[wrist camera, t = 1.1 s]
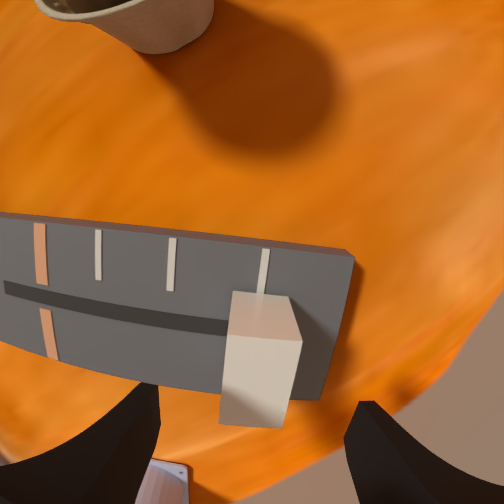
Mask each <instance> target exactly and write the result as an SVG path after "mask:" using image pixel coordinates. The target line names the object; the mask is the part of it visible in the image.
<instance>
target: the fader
mask: <svg viewBox="0 0 504 504" xmlns="http://www.w3.org/2000/svg"><path fill="white" fill-rule="evenodd" d="M302 343H303V341H302V337H301V334H300V331H299V328H298V325H297V322H296V319H295V316H294V313H293V310H292V307H291V304H290V301H289V298H288V296H278V295H268V294H259V293H250V292H241V291H233V293H232V301H231V309H230V316H229V324H228V332H227V341H226V351H225V361H224V371H223V381H222V392H221V402H220V413H219V424H224V425H235V426H246V427H260V428H281V429H282V426H283V422H284V418H285V414H286V410H287V406H288V402H289V398H290V394H291V390H292V386H293V382H294V378H295V374H296V369H297V365H298V361H299V356H300V352H301V347H302Z"/></svg>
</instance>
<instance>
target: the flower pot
mask: <svg viewBox="0 0 504 504" xmlns="http://www.w3.org/2000/svg"><path fill="white" fill-rule="evenodd" d="M34 1H35V3H36V5H37V7H38V8H39V10H40V11H41V12H43V13H44V14H46V15H47V16H49V17H51V18H54V19H57V20H60V21H67V22H81V23H86V24H92V25H94V26H96V27H97V28H99V29H101V30H103V31H104V32H106V33H108V34H110V35H111V36H113V37H115V38H116V39H118V40H120V41H121V42H123V43H125V44H126V45H128V46H129V47H131V48H132V49H134V50H136V51H138V52H141V53H146V54H163V53H169V52H173V51H176V50H178V49H179V48H181V47H182V46H184V45H186V44H188V43H189V42H191V41H193V40H195V39H196V38H198V37H199V36H200V35H201V34H202V33H203V32H204V31H205V30H206V28H207V27H208V25H209V24H210V22H211V20H212V17H213V12H214V0H34Z"/></svg>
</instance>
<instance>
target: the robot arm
mask: <svg viewBox="0 0 504 504" xmlns="http://www.w3.org/2000/svg"><path fill="white" fill-rule="evenodd" d="M160 426H161V420H160V407H159V392H158V385H154V384H149V383H144V382H141V383H140V384H138V385H137V386H136V387H135V388H134V389H133V390H132V391H131V392H130V393H129V394H128V395H127V396H126V397H125V398H124V399H123V400H122V401H120V402H119V403H118V404H117V405H116V406H115V407H114V408H113V409H111V410H110V411H109V412H108V413H107V414H106V415H104V416H103V417H102V418H101V419H99V420H98V421H97V422H95V423H94V424H93V425H91V426H90V427H89V428H87V429H86V430H84V431H83V432H81V433H80V434H78V435H77V436H75V437H74V438H72V439H70V440H69V441H67V442H65V443H63V444H61V445H59V446H57V447H55V448H53V449H51V450H49V451H47V452H45V453H43V454H40V455H38V456H35V457H32V458H29V459H26V460H23V461H20V462H17V463H13V464H9V465H4V466H0V504H189V491H188V467H187V466H185V465H182V464H176V463H171V462H165V461H160V460H155V459H151V458H152V455H153V452H154V449H155V447H156V443H157V439H158V434H159V430H160ZM344 444H345V451H346V457H347V462H348V465H349V469H350V472H351V476H352V479H353V482H354V485H355V489H356V492H357V496H358V499H359V502H360V504H504V486H500V485H496V484H493V483H490V482H487V481H484V480H481V479H479V478H476V477H474V476H472V475H469V474H467V473H465V472H463V471H461V470H459V469H457V468H455V467H454V466H452V465H450V464H449V463H447V462H446V461H444V460H442V459H441V458H439V457H438V456H436V455H435V454H433V453H432V452H430V451H429V450H428V449H427V448H426V447H424V446H423V445H422V444H421V443H419V442H418V441H417V440H416V439H415V438H413V437H412V436H411V435H410V434H409V433H408V432H406V430H404V429H403V428H402V427H401V426H400V425H399V424H398V423H397V422H396V421H395V420H394V419H393V418H392V417H391V416H390V415H389V414H388V413H387V412H386V411H385V410H384V409H382V408H381V407H380V406H379V405H378V404H377V403H376V402H375V401H359V403H358V405H357V408H356V410H355V413H354V415H353V417H352V420H351V422H350V424H349V427H348V429H347V431H346V433H345V436H344Z"/></svg>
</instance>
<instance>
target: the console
mask: <svg viewBox="0 0 504 504" xmlns="http://www.w3.org/2000/svg"><path fill="white" fill-rule="evenodd" d="M354 261H355V257H354V256H353V255H351V254H350V253H349V252H348V251H346V250H345V249H337V248H329V247H321V246H313V245H305V244H297V243H289V242H280V241H272V240H264V239H255V238H247V237H238V236H229V235H221V234H212V233H203V232H194V231H185V230H176V229H167V228H157V227H148V226H138V225H129V224H119V223H109V222H100V221H90V220H79V219H69V218H59V217H48V216H37V215H27V214H15V213H4V212H0V341H2V342H5V343H8V344H10V345H13V346H16V347H18V348H21V349H24V350H27V351H29V352H32V353H35V354H38V355H41V356H44V357H47V358H51V359H54V360H57V361H60V362H64V363H67V364H70V365H74V366H77V367H81V368H85V369H88V370H92V371H96V372H100V373H104V374H108V375H112V376H117V377H121V378H126V379H130V380H135V381H140V382H145V383H150V384H155V385H161V386H167V387H172V388H179V389H185V390H192V391H199V392H206V393H214V394H221V392H222V381H223V371H224V361H225V351H226V341H227V332H228V324H229V316H230V309H231V301H232V293H233V291H241V292H250V293H259V294H268V295H278V296H288V298H289V301H290V304H291V307H292V310H293V313H294V316H295V319H296V322H297V325H298V328H299V331H300V334H301V337H302V341H303V343H302V347H301V352H300V356H299V361H298V365H297V369H296V374H295V378H294V382H293V386H292V390H291V394H290V398H289V400H320V397H321V393H322V390H323V387H324V383H325V380H326V377H327V373H328V370H329V366H330V362H331V359H332V355H333V352H334V348H335V344H336V340H337V336H338V332H339V328H340V324H341V320H342V316H343V312H344V308H345V303H346V299H347V294H348V290H349V285H350V280H351V276H352V271H353V266H354Z"/></svg>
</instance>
